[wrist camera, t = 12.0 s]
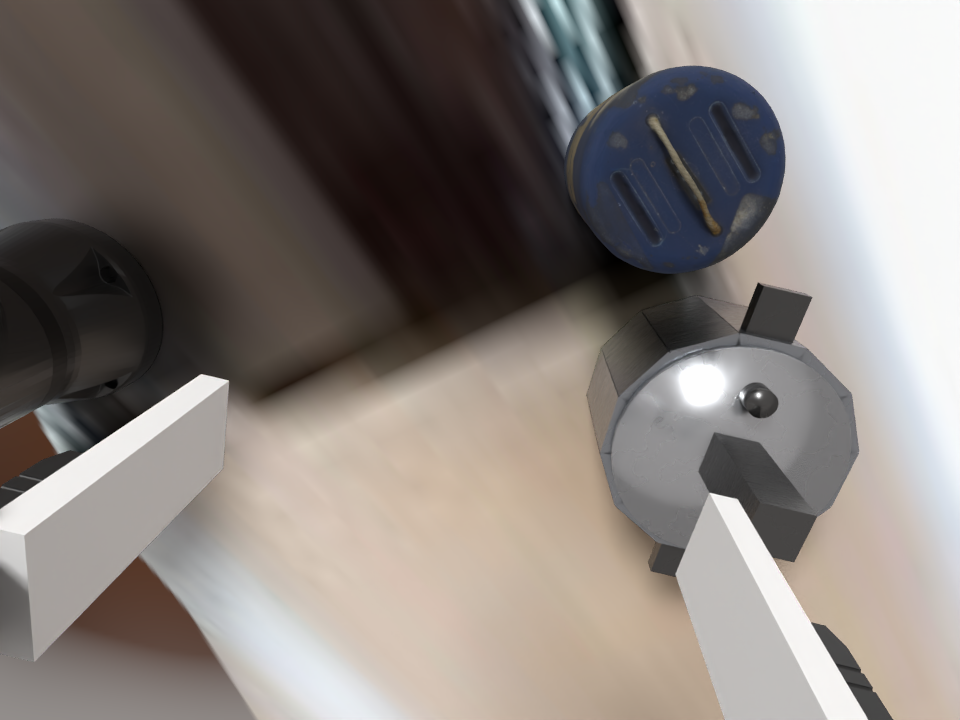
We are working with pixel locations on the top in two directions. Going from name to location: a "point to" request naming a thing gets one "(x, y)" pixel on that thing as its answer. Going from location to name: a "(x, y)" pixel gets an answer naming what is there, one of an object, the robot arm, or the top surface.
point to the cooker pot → (684, 332)
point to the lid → (732, 444)
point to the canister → (677, 168)
